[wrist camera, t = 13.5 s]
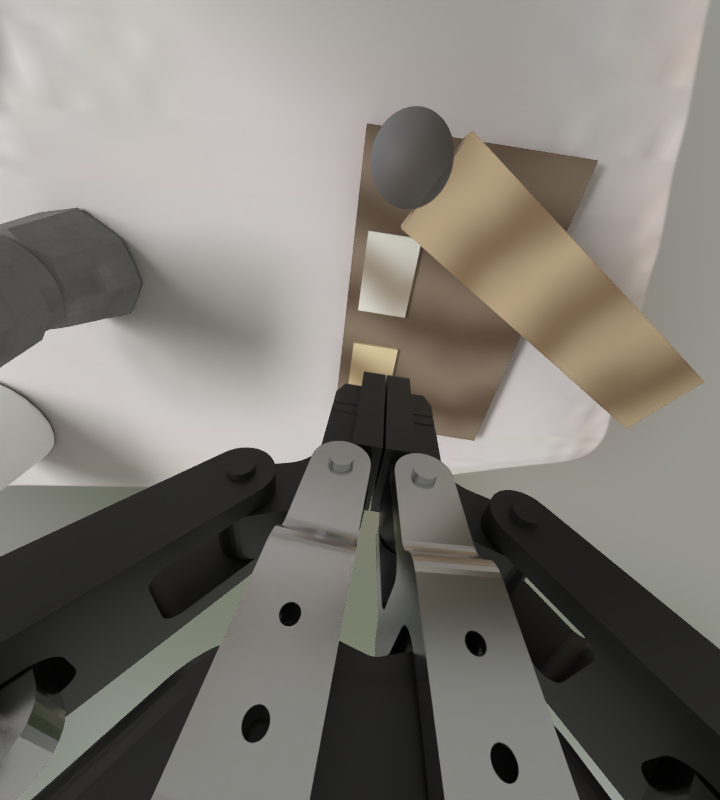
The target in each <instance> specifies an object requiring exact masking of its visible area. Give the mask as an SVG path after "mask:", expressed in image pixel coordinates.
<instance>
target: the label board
mask: <svg viewBox="0 0 720 800" xmlns="http://www.w3.org/2000/svg"><path fill="white" fill-rule="evenodd" d="M381 127H382V126H379V125H373V124H367V128H366V137H365V146H364V155H363V165H362V174H361V183H360V192H359V201H358V210H357V219H356V228H355V237H354V246H353V255H352V264H351V273H350V282H349V291H348V301H347V310H346V319H345V328H344V337H343V346H342V355H341V364H340V373H339V382H338V389H340V388H341V387H342V386H343V385H344V384H345V383H346V384H352V385H358V386H362V380H363V374H364V371H366V372H372V373H379V374H385V375H386V377H387V375H392V376H398V377H404V378H409V379H410V387H411V394H415V395H422V396H424V397H425V399H426V400H427V401H428V402H429V404H430V405H431V407H432V413H433V419H434V425H435V426H434V428H435V430H436V435H442V436H448V437H454V438H460V439H467V440H473V441H474V440H475V438H476V435H477V433H478V431H479V429H480V426H481V424H482V422H483V419H484V417H485V415H486V413H487V410H488V408H489V406H490V404H491V401H492V399H493V397H494V395H495V392H496V390H497V388H498V386H499V383H500V381H501V379H502V377H503V374H504V372H505V370H506V367H507V365H508V363H509V361H510V358H511V356H512V354H513V352H514V349H515V347H516V345H517V343H518V340H519V338H520V336H521V335H520V334H519V333H518V332H517V331H516V330H515V329H514V328H513V327H511V326H510V325H509V324H508V323H507V322H506V321H505V320H504V319H502V318H501V317H500V316H499V315H498V314H497V313H496V312H495V311H493V310H492V309H491V308H490V307H489V306H488V305H487V304H486V303H484V302H483V301H482V300H481V299H480V298H479V297H478V296H476V295H475V294H474V293H473V292H472V291H471V290H470V289H469V288H467V287H466V286H465V285H464V284H463V283H462V282H461V281H460V280H458V279H457V278H456V277H455V276H454V275H453V274H452V273H451V272H449V271H448V270H447V269H446V268H445V267H444V266H443V265H442V264H440V263H439V262H438V261H437V260H436V259H435V258H434V257H433V256H431V255H430V254H429V253H428V252H427V251H426V250H425V249H424V248H422V247H421V246H420V245H419V244H418V243H417V242H416V241H415V240H413V239H412V238H411V237H410V236H409V235H408V234H407V233H406V232H404V231H403V230H402V229H401V225H402V223H403V222H404V220H405V219H406V218H407V216H408V215H409V213H410V212H411V211H412V209H401V208H398V207H395V206H393V205H391V204H390V203H388V202H387V201H386V200H385V199H384V198H383V197H382V196H381V195H380V193H379V192H378V190H377V188H376V186H375V184H374V181H373V177H372V173H371V153H372V148H373V144H374V141H375V138H376V136H377V134H378V132H379V130H380V129H381ZM452 139H453V145H454V151H455V150H456V148H457V147H458V146H459V144H460V143H461V141H462V140H463V139H460V138H454V137H452ZM484 144H485V145H486V146H487V147H488V148H489V149H490V150H491V151H492V152H493V153H494V154H495V155H496V157H497V158H498V159H499V160H500V161H501V162H502V163H503V164H504V165H505V166H506V167H507V168H508V170H509V171H510V172H511V173H512V174H513V175H514V176H515V177H516V178H517V179H518V180H519V181H520V182H521V184H522V185H523V186H524V187H525V188H526V189H527V190H528V191H529V192H530V193H531V194H532V195H533V197H534V198H535V199H536V200H537V201H538V202H539V203H540V204H541V205H542V206H543V207H544V208H545V210H546V211H547V212H548V213H549V214H550V215H551V216H552V217H553V218H554V219H555V220H556V221H557V223H558V224H559V225H560V226H561V227H562V228H563V229H564V230H565V231H566V232H567V230H568V227H569V225H570V223H571V220H572V218H573V216H574V214H575V211H576V209H577V207H578V205H579V202H580V200H581V198H582V196H583V193H584V191H585V189H586V187H587V184H588V182H589V180H590V178H591V175H592V173H593V171H594V168H595V166H596V164H597V162H598V161H597V160H591V159H585V158H579V157H573V156H566V155H560V154H554V153H548V152H541V151H535V150H529V149H523V148H516V147H510V146H504V145H498V144H492V143H485V142H484Z"/></svg>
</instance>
